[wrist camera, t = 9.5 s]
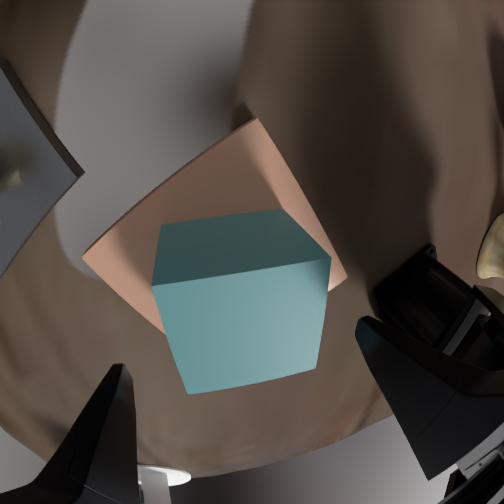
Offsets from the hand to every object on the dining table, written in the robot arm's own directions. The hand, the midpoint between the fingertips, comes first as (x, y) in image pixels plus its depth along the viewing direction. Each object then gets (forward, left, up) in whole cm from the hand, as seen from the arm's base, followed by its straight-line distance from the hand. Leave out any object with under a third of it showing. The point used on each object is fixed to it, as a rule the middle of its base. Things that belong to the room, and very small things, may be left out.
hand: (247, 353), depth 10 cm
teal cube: (0, 0, -6) cm, 6 cm away
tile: (0, 0, -7) cm, 7 cm away
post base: (+7, -13, -7) cm, 16 cm away
